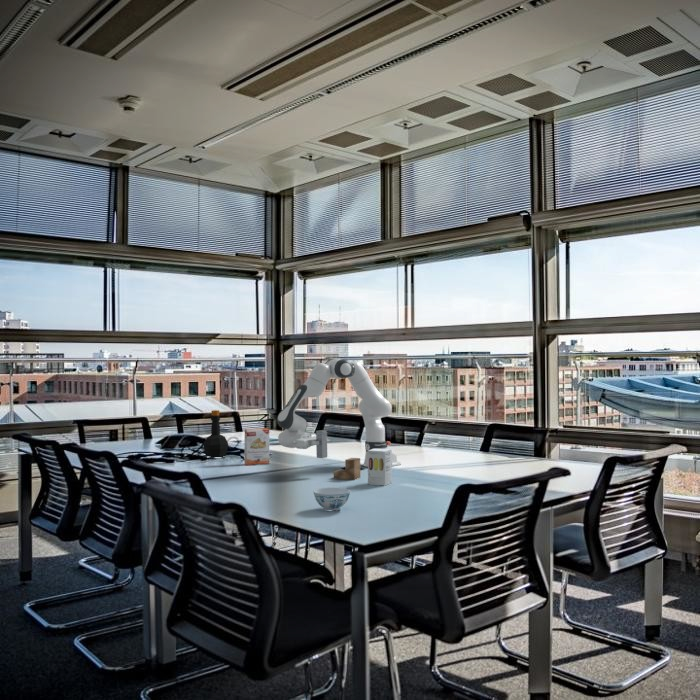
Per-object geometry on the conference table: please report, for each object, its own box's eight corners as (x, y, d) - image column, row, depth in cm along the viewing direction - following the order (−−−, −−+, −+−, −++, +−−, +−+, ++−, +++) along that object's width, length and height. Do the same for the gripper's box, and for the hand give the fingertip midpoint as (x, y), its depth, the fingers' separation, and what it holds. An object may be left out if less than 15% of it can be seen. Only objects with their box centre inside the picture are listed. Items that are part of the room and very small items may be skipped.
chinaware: (351, 505, 298) (351, 487, 298) (349, 513, 283) (348, 494, 283) (315, 505, 299) (315, 487, 299) (311, 513, 284) (311, 494, 284)
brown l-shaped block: (333, 478, 367) (333, 459, 367) (339, 476, 374) (339, 457, 374) (354, 479, 362) (354, 460, 363) (360, 477, 370) (360, 458, 370)
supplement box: (367, 484, 348) (366, 450, 348) (374, 481, 356) (374, 448, 357) (385, 486, 344) (385, 451, 344) (392, 482, 352) (391, 448, 353)
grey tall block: (316, 457, 373) (316, 431, 373) (321, 456, 376) (321, 430, 376) (322, 458, 371) (321, 431, 371) (327, 457, 374) (326, 430, 374)
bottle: (208, 460, 442) (207, 411, 442) (199, 457, 456) (199, 410, 456) (232, 458, 450) (232, 410, 450) (223, 455, 464) (222, 409, 464)
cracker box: (246, 465, 416) (246, 429, 416) (244, 464, 422) (244, 429, 422) (270, 464, 421) (269, 428, 422) (267, 462, 427) (266, 427, 427)
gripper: (289, 436, 373) (309, 438, 365) (315, 432, 389) (335, 434, 381) (290, 449, 373) (310, 450, 365) (315, 444, 389) (335, 445, 381)
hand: (323, 442), depth 373 cm, fingers closed on grey tall block, 4 cm apart
